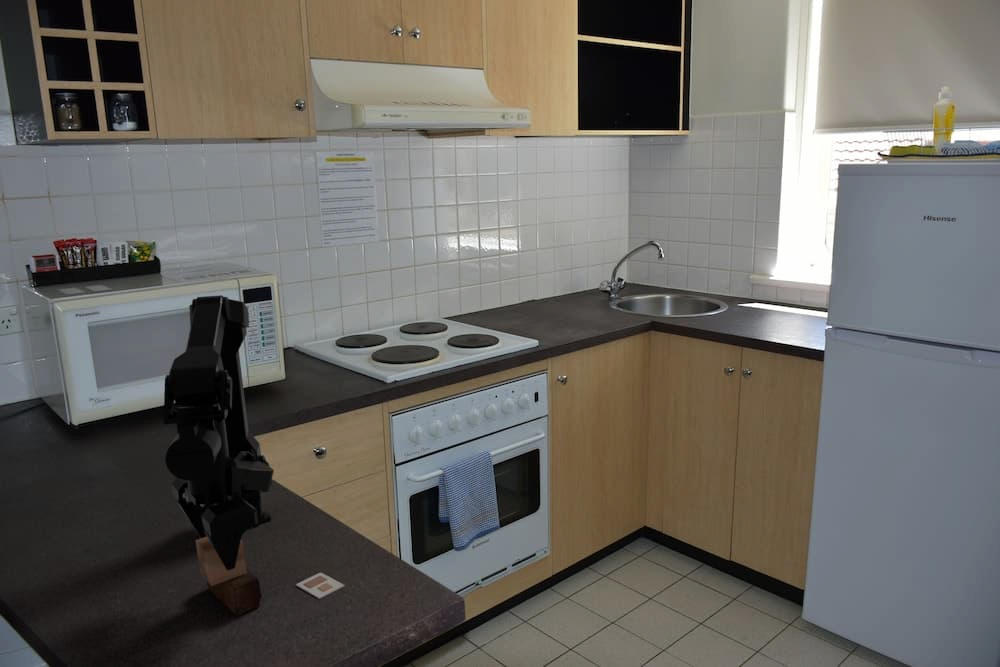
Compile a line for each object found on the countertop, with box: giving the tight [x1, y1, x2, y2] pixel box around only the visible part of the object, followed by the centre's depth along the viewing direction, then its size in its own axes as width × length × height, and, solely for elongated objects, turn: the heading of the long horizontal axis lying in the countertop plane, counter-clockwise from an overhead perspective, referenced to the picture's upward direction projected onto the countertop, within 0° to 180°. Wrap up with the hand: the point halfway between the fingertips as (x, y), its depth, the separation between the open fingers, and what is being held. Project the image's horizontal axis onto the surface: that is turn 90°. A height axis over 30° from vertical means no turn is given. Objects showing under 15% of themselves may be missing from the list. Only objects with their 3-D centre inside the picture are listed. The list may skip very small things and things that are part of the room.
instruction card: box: [295, 572, 346, 600], centre depth 113 cm, size 6×4×1 cm
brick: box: [206, 568, 262, 617], centre depth 111 cm, size 11×4×5 cm, turn 42°
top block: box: [195, 537, 247, 586], centre depth 109 cm, size 5×5×5 cm
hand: (219, 556), depth 109 cm, fingers open, 9 cm apart
